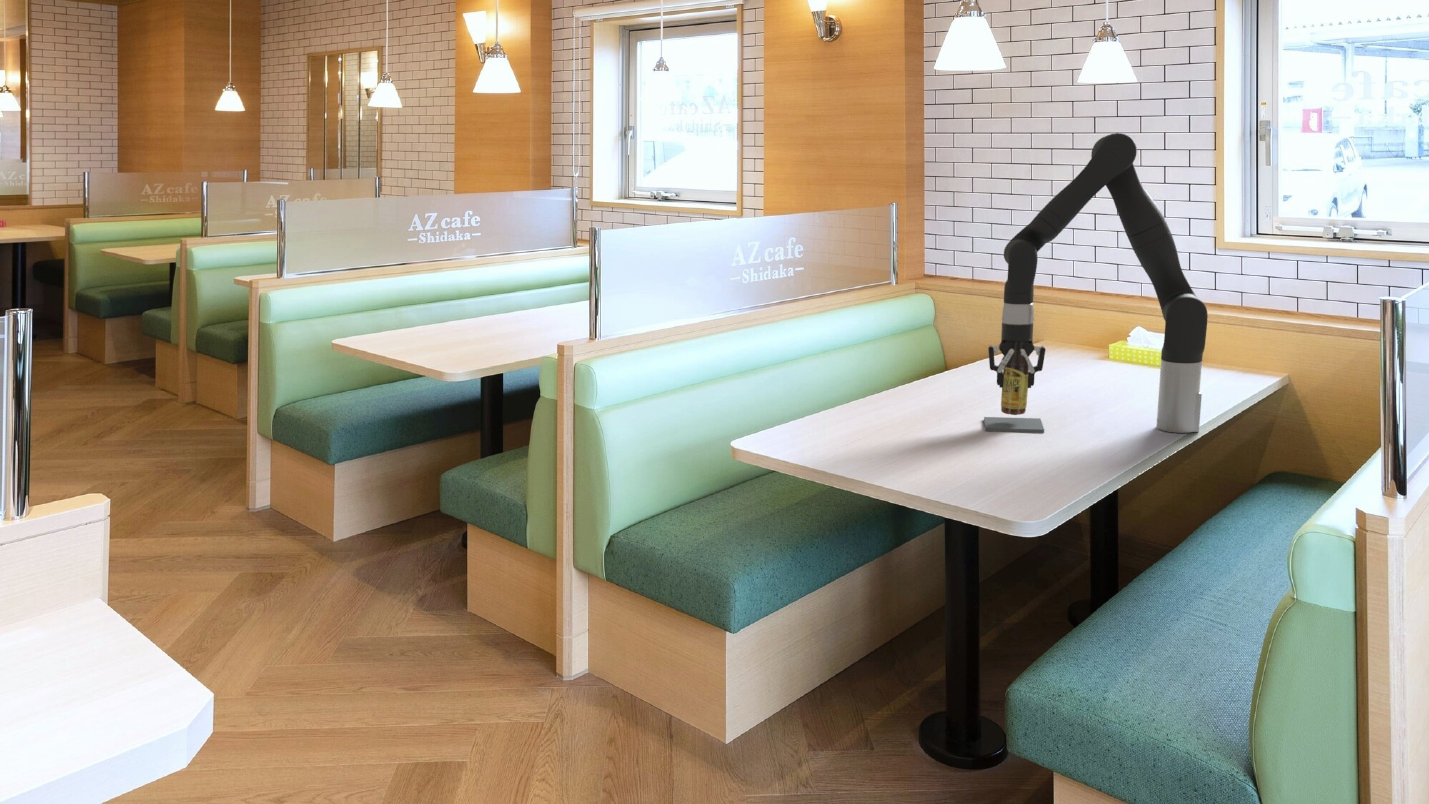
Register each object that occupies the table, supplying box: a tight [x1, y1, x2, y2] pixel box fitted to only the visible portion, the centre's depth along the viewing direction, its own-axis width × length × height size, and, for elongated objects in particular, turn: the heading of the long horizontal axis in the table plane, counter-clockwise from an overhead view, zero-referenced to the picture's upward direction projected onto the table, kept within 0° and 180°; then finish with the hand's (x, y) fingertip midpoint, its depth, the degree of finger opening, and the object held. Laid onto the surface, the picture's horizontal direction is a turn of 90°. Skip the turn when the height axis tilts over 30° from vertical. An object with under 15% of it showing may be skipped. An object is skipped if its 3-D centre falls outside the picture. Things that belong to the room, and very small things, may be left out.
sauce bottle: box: [1000, 342, 1029, 416], centre depth 273 cm, size 7×6×20 cm
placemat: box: [983, 416, 1045, 434], centre depth 276 cm, size 14×12×1 cm
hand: (1015, 387), depth 274 cm, fingers closed on sauce bottle, 6 cm apart
